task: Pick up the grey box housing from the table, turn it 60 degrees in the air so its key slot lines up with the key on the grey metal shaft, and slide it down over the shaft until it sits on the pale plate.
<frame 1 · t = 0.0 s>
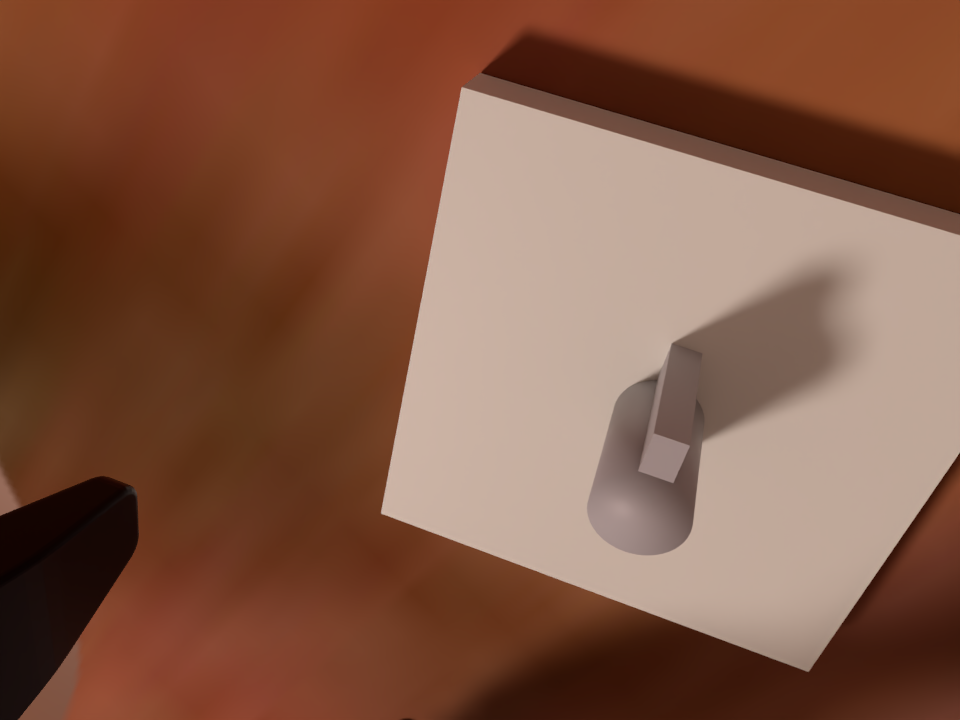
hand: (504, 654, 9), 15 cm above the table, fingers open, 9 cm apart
base plate: (663, 388, 24), on the table
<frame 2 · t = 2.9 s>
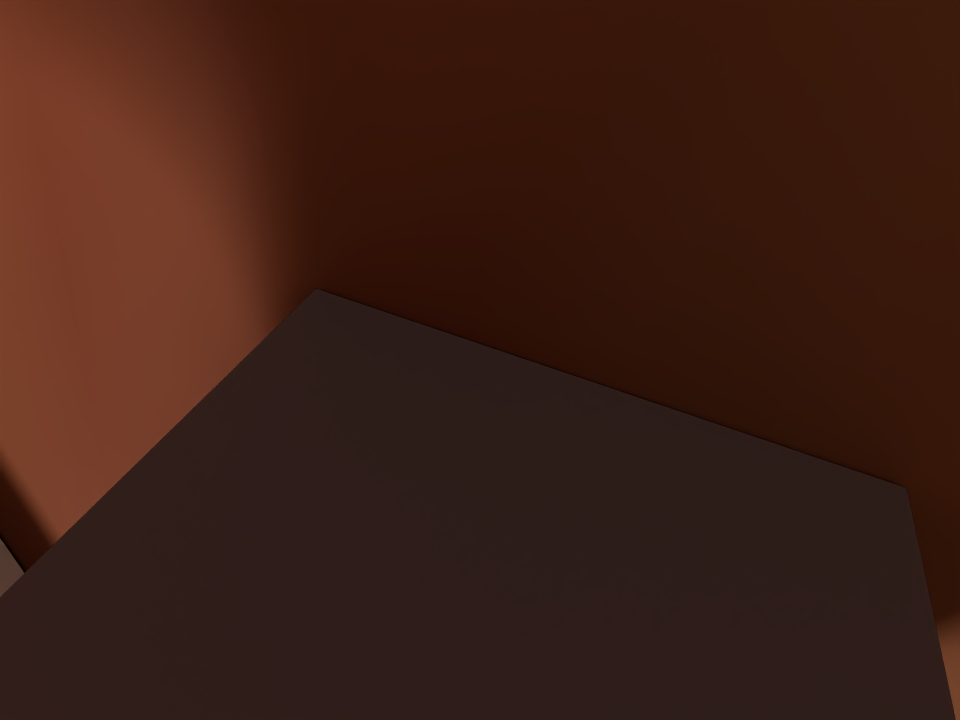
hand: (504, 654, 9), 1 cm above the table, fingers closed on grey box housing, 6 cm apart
grey box housing: (526, 586, 10), on the table, touching gripper
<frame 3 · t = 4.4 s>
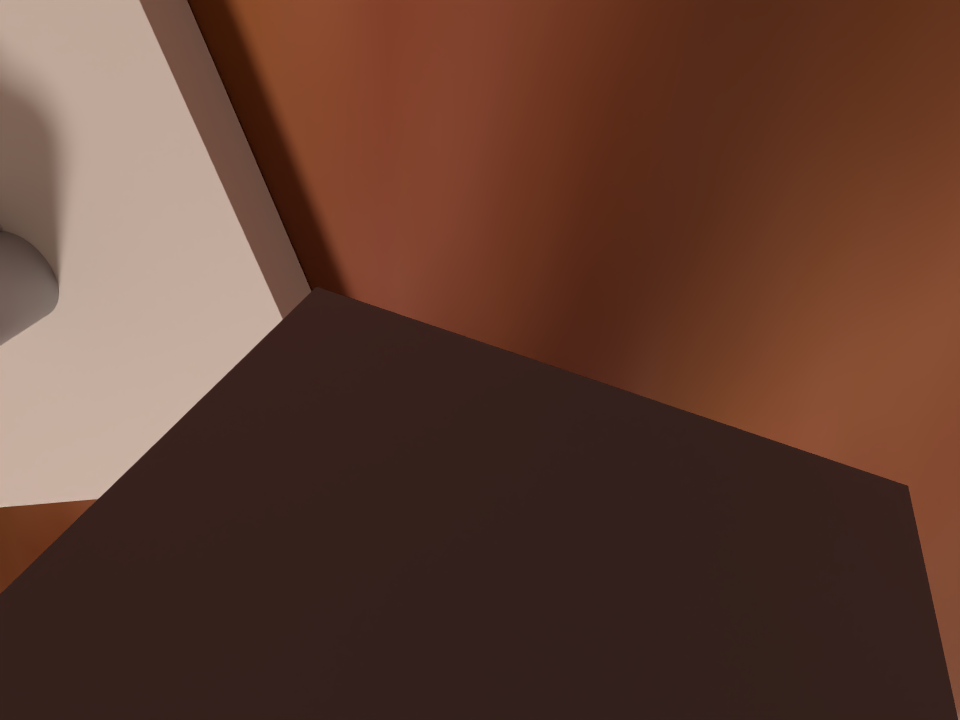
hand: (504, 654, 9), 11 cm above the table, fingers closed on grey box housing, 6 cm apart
grey box housing: (527, 584, 10), point 10 cm above the table, touching gripper
base plate: (58, 252, 23), on the table
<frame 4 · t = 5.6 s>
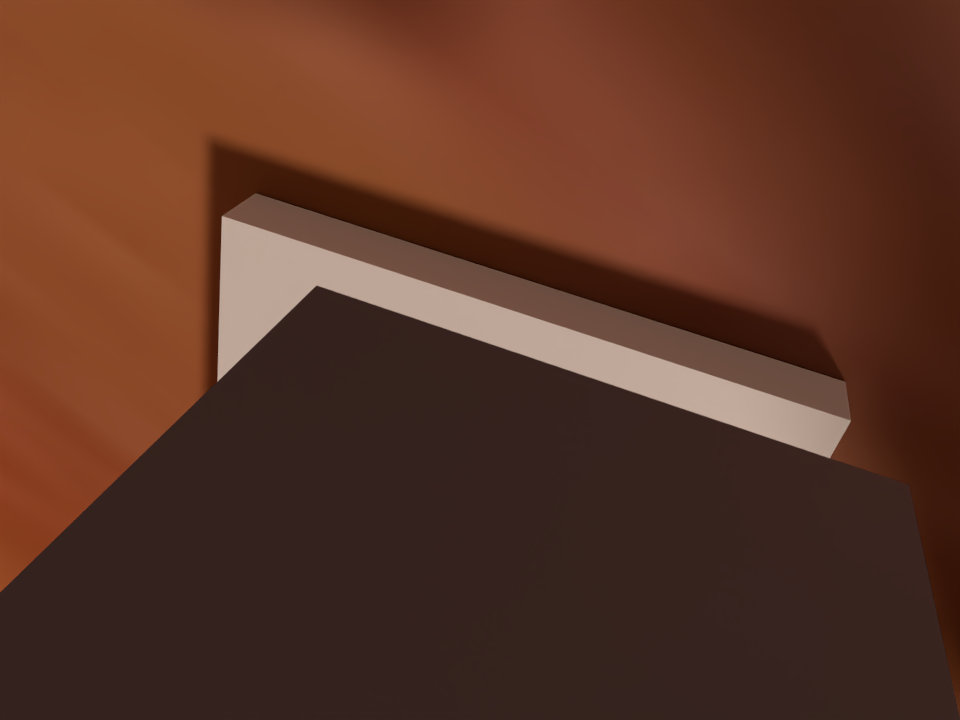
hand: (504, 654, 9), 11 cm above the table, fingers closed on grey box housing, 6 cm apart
grey box housing: (528, 583, 10), point 10 cm above the table, touching gripper
base plate: (476, 504, 23), on the table
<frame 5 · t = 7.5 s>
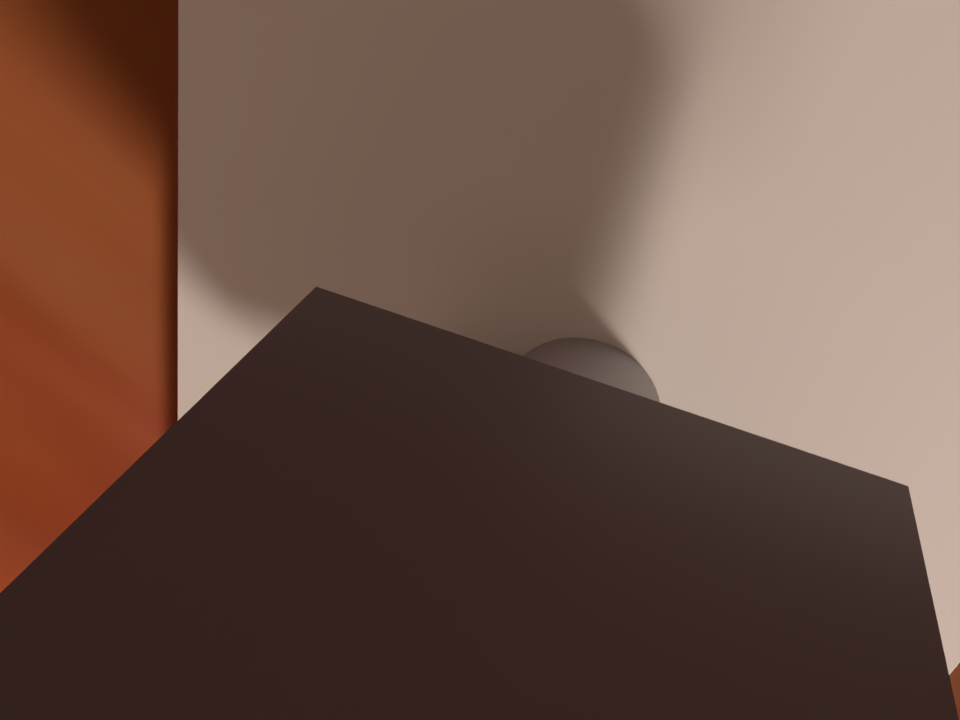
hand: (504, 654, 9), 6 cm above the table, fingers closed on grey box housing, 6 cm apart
grey box housing: (527, 584, 10), point 5 cm above the table, touching gripper
base plate: (597, 357, 14), on the table
when the fingers open (3 cm above the table, at t = 8.7 s): grey box housing stays where it is, resting on base plate.
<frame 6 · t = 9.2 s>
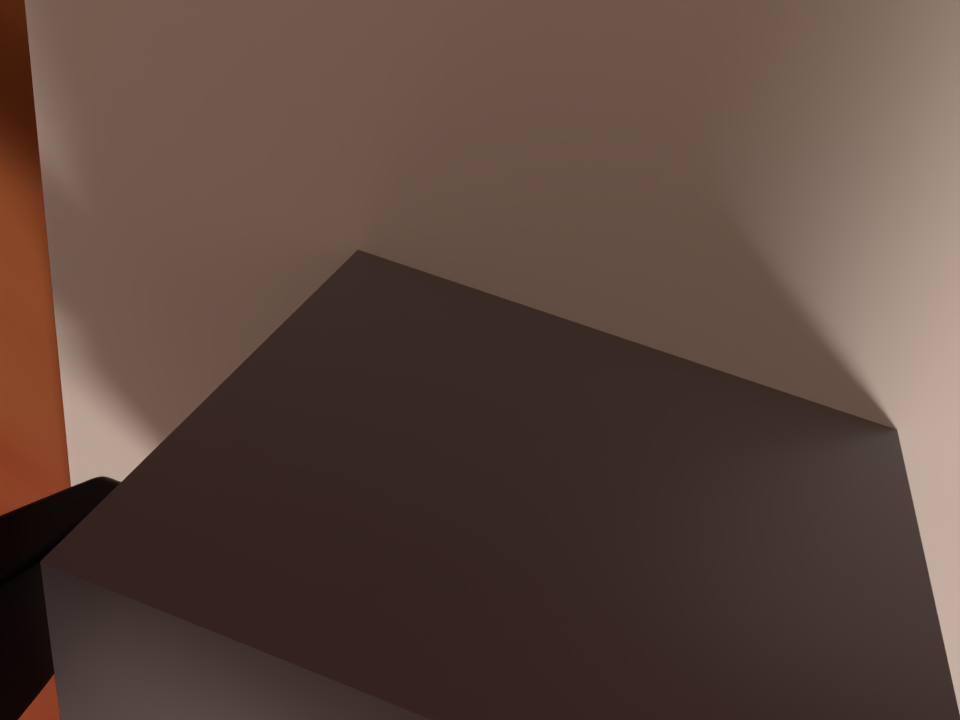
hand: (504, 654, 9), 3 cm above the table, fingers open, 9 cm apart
grey box housing: (546, 530, 11), point 1 cm above the table, touching base plate
base plate: (565, 460, 12), on the table
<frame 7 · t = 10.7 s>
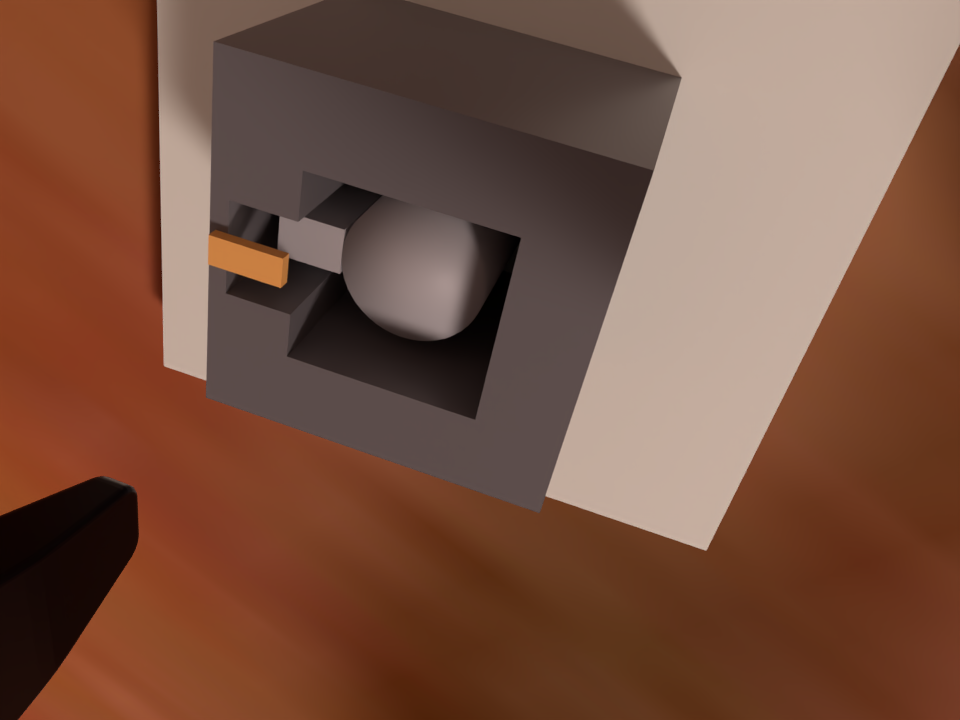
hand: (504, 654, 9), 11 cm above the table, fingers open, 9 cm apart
grey box housing: (482, 188, 17), point 1 cm above the table, touching base plate
base plate: (498, 164, 18), on the table
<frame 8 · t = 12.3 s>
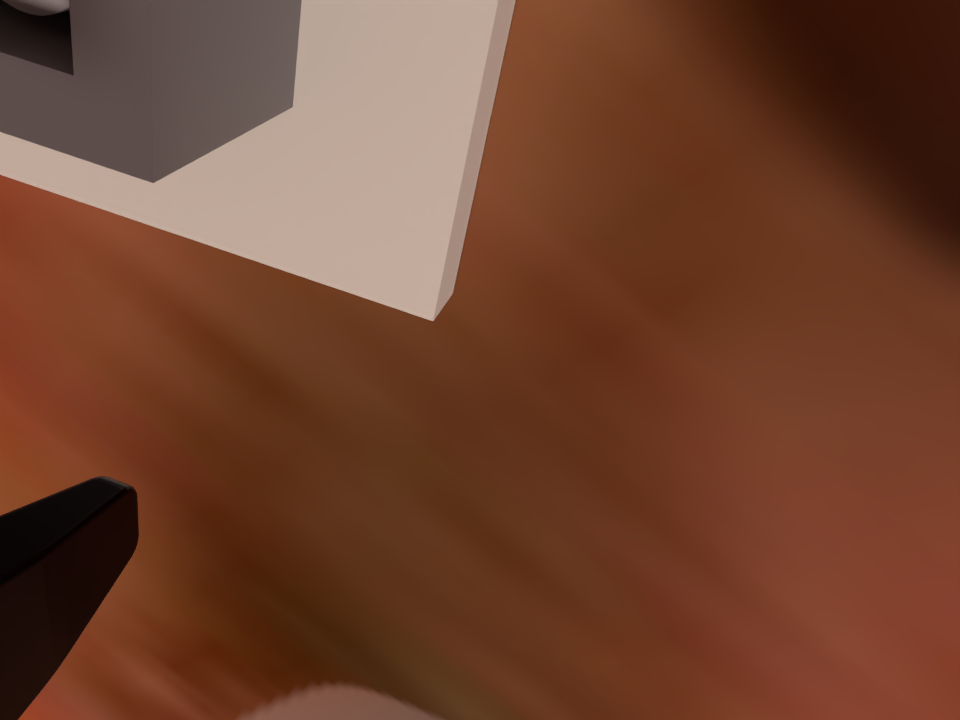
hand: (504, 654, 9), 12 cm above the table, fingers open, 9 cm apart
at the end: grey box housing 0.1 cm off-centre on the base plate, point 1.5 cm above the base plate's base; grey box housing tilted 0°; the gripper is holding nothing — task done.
